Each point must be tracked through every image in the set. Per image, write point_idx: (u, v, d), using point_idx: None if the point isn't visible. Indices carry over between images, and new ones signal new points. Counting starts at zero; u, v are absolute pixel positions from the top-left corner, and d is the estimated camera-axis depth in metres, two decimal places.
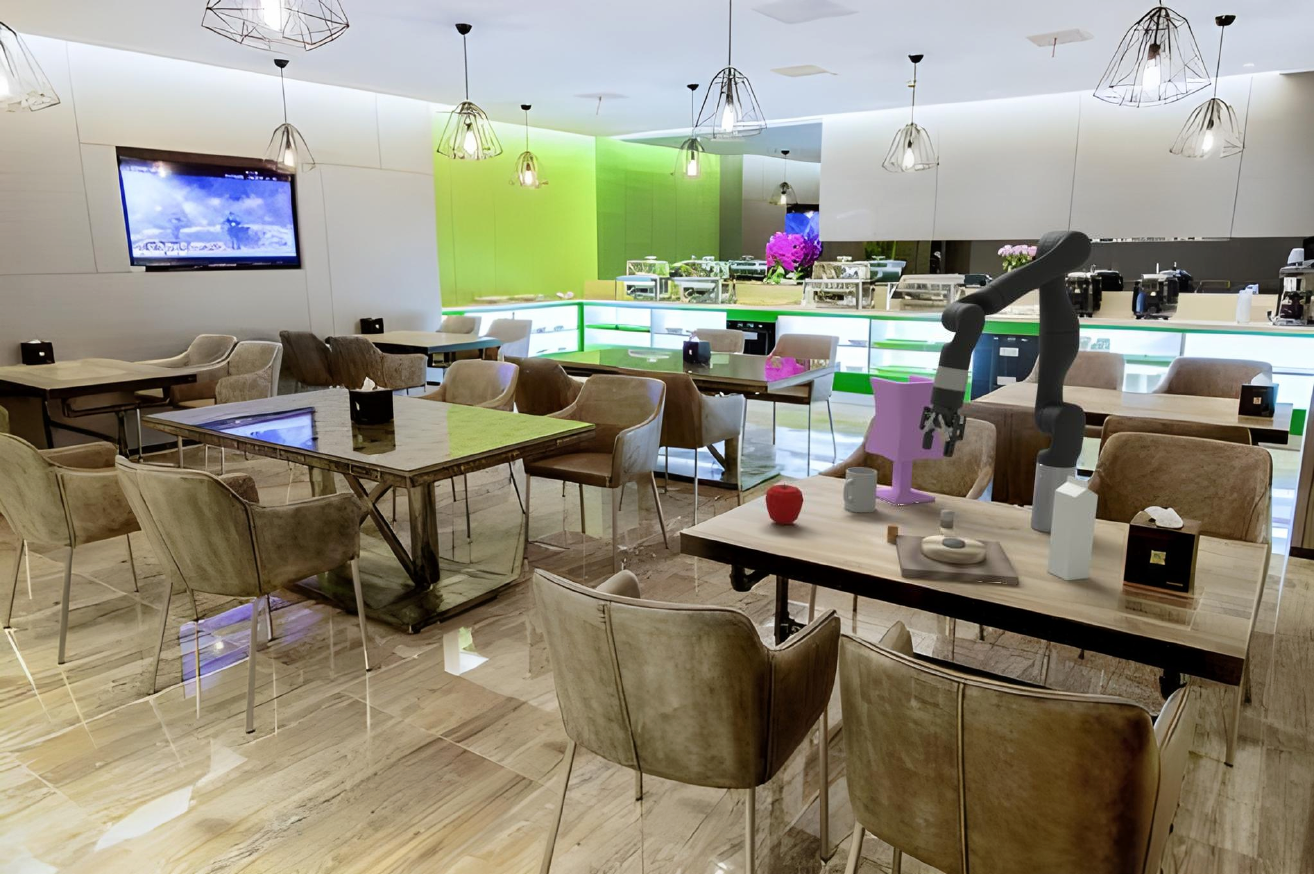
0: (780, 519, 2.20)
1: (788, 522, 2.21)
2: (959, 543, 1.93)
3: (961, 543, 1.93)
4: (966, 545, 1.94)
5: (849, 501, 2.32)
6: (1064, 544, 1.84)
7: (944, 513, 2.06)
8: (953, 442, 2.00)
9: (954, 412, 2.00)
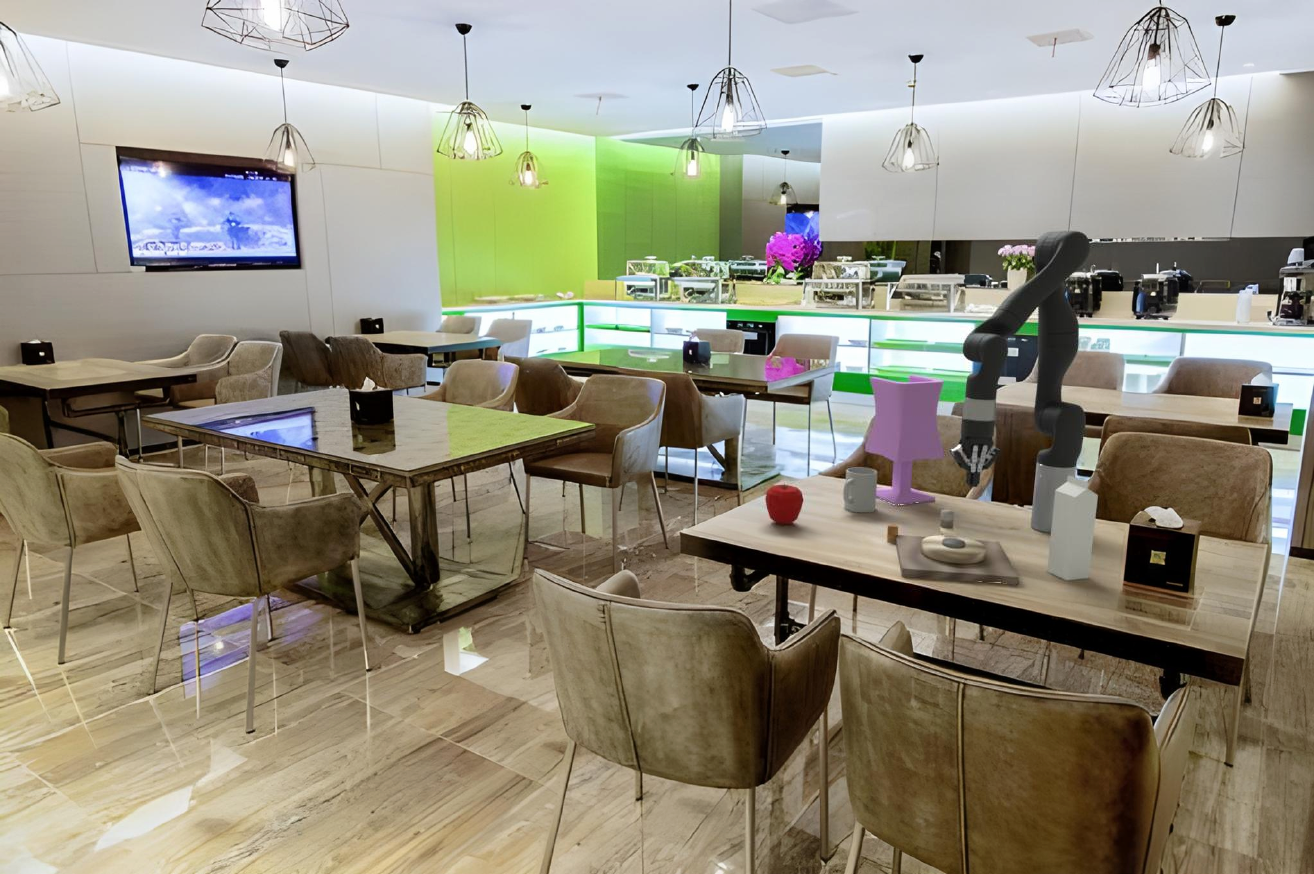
0: (780, 519, 2.20)
1: (788, 522, 2.21)
2: (959, 543, 1.93)
3: (961, 543, 1.93)
4: (966, 545, 1.94)
5: (849, 501, 2.32)
6: (1064, 544, 1.84)
7: (944, 513, 2.06)
8: None
9: None
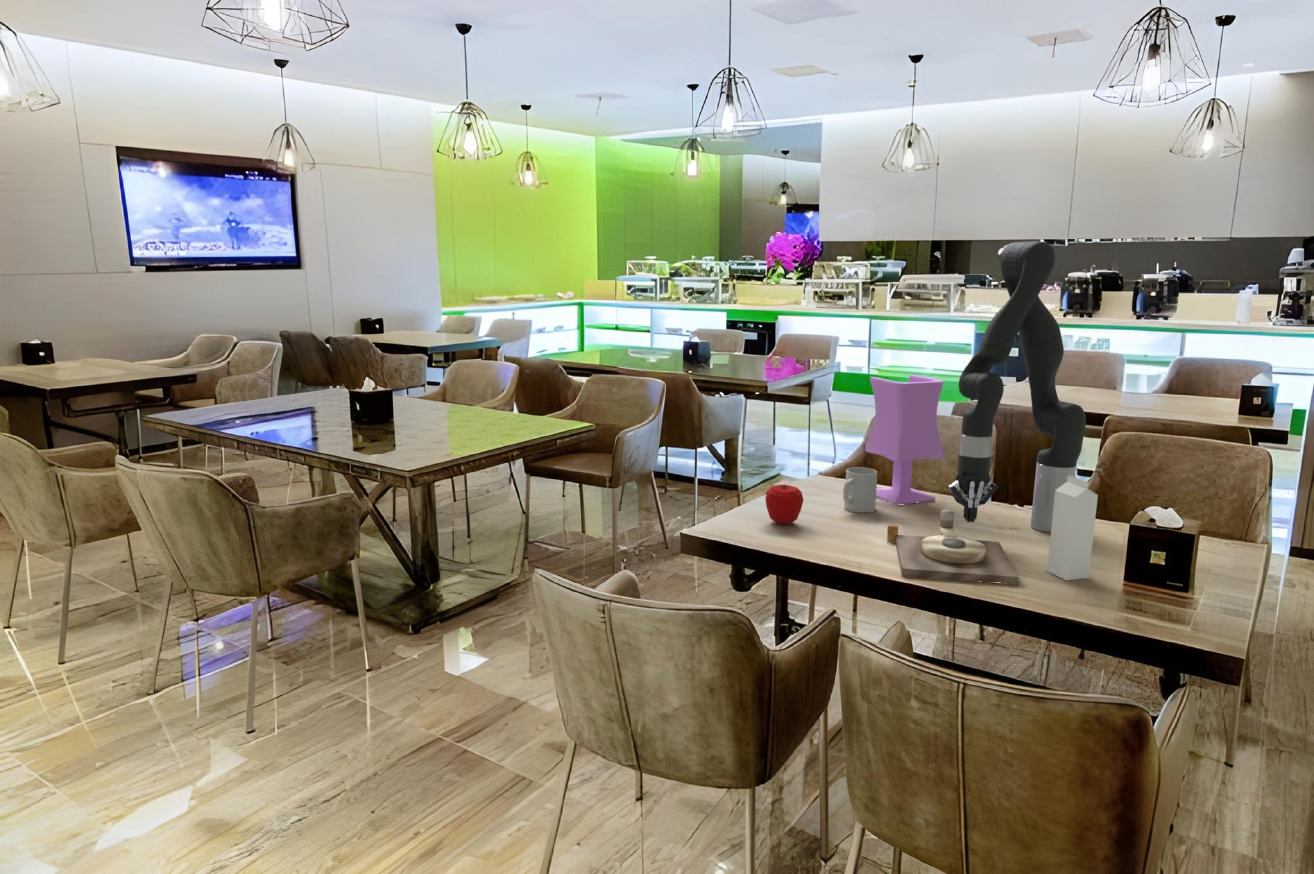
0: (780, 519, 2.20)
1: (788, 522, 2.21)
2: (959, 543, 1.93)
3: (961, 543, 1.93)
4: (966, 545, 1.94)
5: (849, 501, 2.32)
6: (1064, 544, 1.84)
7: (944, 513, 2.06)
8: None
9: None
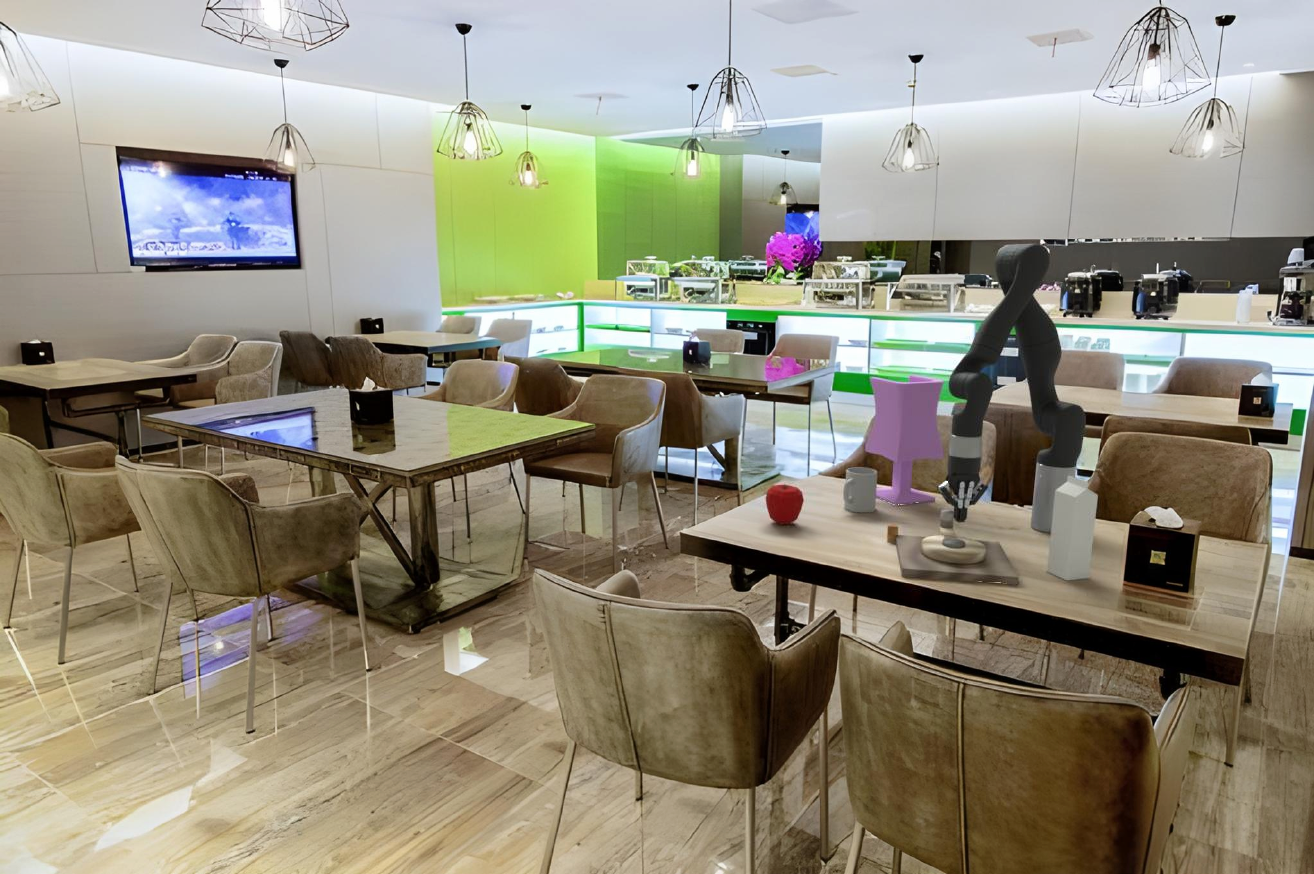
0: (780, 519, 2.20)
1: (788, 522, 2.21)
2: (959, 543, 1.93)
3: (961, 543, 1.93)
4: (966, 545, 1.94)
5: (849, 501, 2.32)
6: (1064, 544, 1.84)
7: (944, 513, 2.06)
8: None
9: None
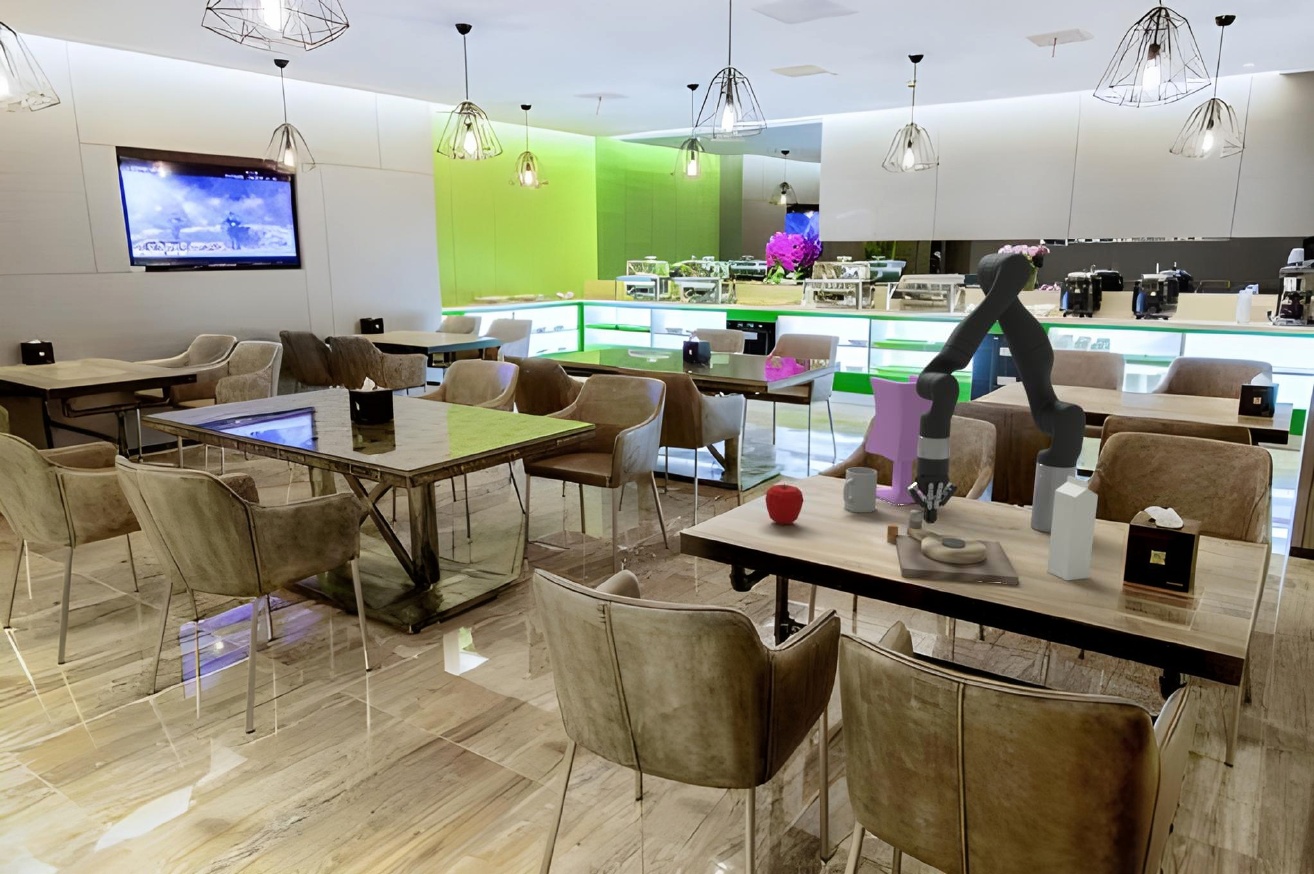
0: (780, 519, 2.20)
1: (788, 522, 2.21)
2: (961, 542, 1.94)
3: (961, 541, 1.94)
4: None
5: (849, 501, 2.32)
6: (1064, 544, 1.84)
7: (916, 514, 2.05)
8: None
9: None
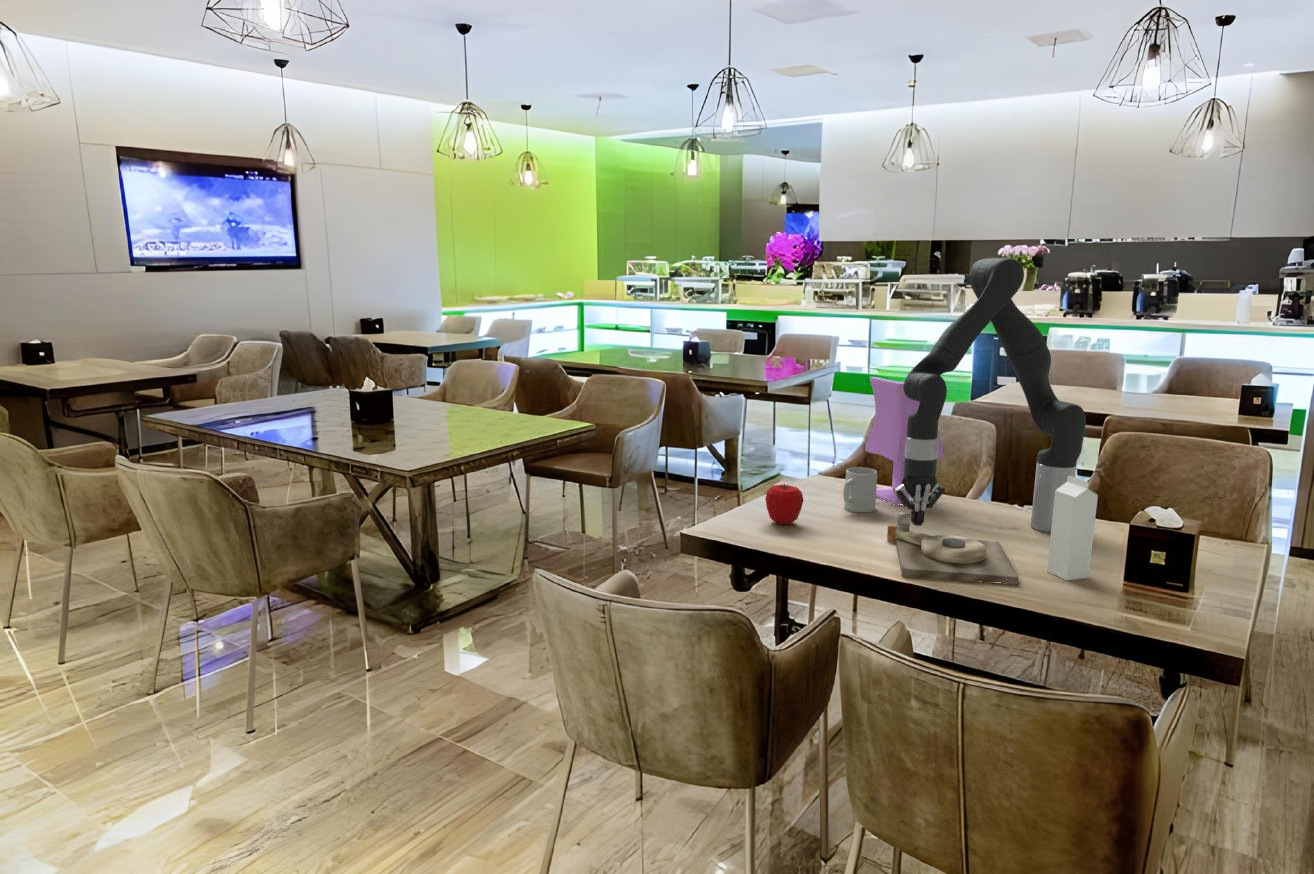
0: (780, 519, 2.20)
1: (788, 522, 2.21)
2: (961, 541, 1.94)
3: (960, 541, 1.95)
4: None
5: (849, 501, 2.32)
6: (1064, 544, 1.84)
7: (906, 516, 2.03)
8: None
9: None
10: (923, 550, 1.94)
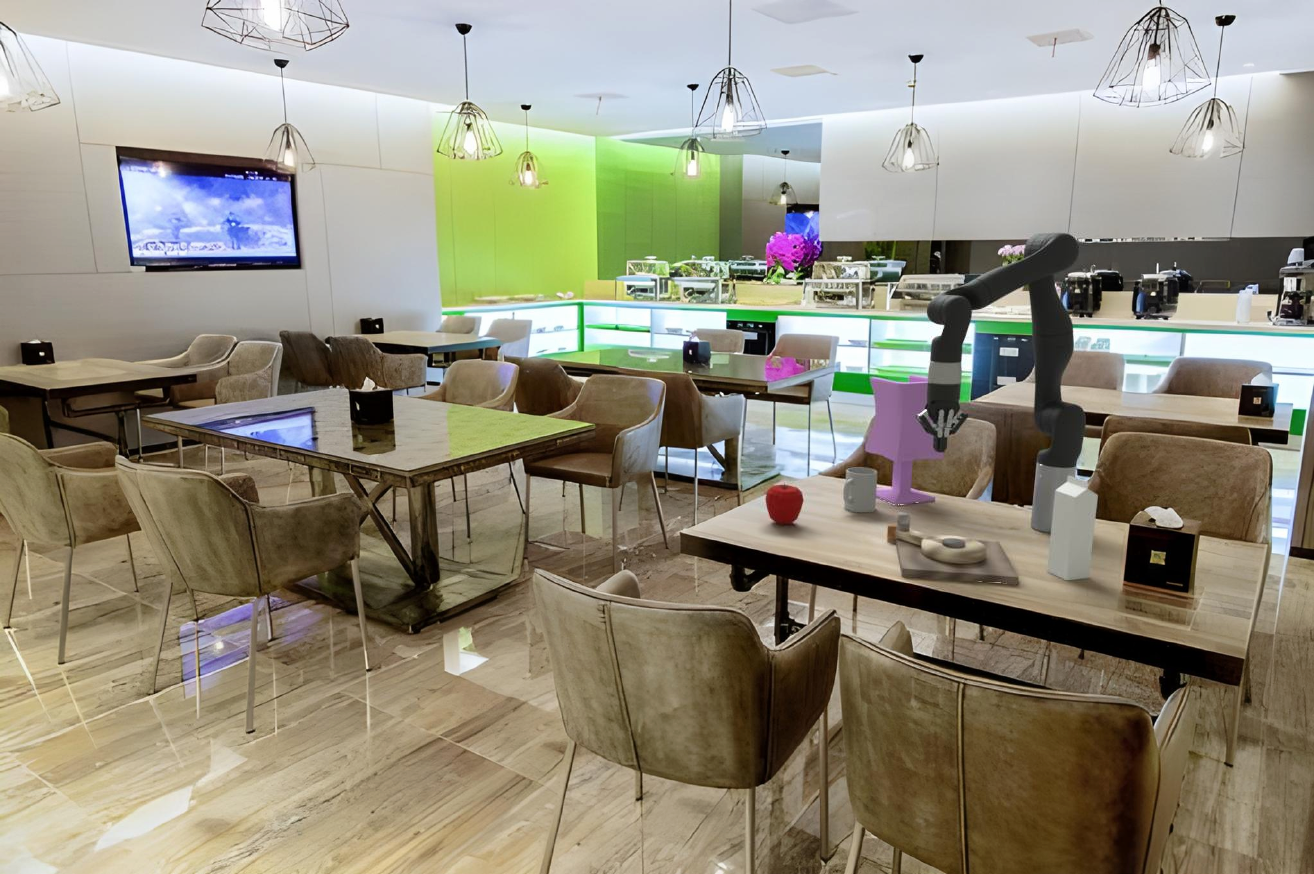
0: (780, 519, 2.20)
1: (788, 522, 2.21)
2: (961, 541, 1.94)
3: (960, 541, 1.95)
4: None
5: (849, 501, 2.32)
6: (1064, 544, 1.84)
7: (906, 516, 2.03)
8: None
9: None
10: (923, 550, 1.94)
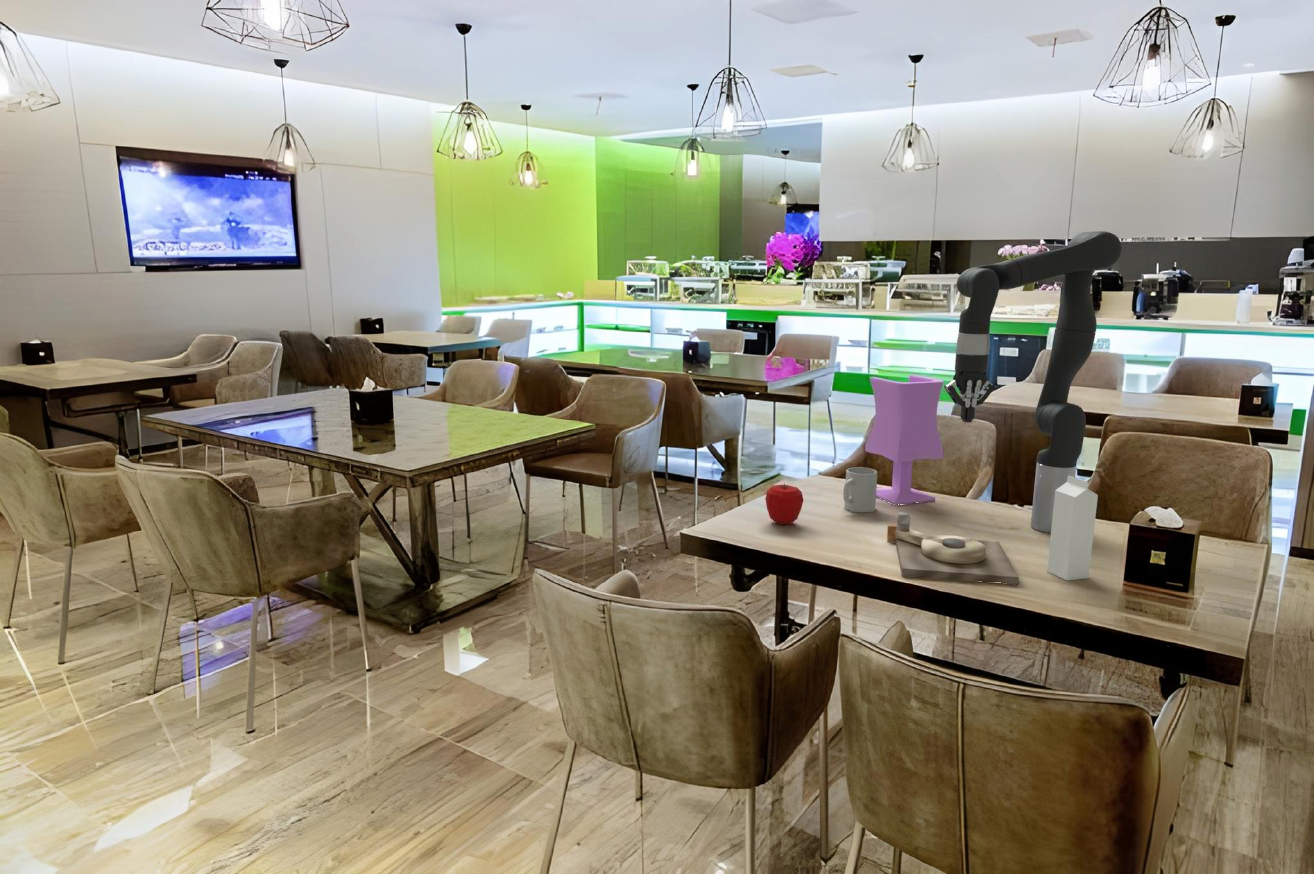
0: (780, 519, 2.20)
1: (788, 522, 2.21)
2: (961, 541, 1.94)
3: (960, 541, 1.95)
4: None
5: (849, 501, 2.32)
6: (1064, 544, 1.84)
7: (906, 516, 2.03)
8: None
9: None
10: (923, 550, 1.94)
